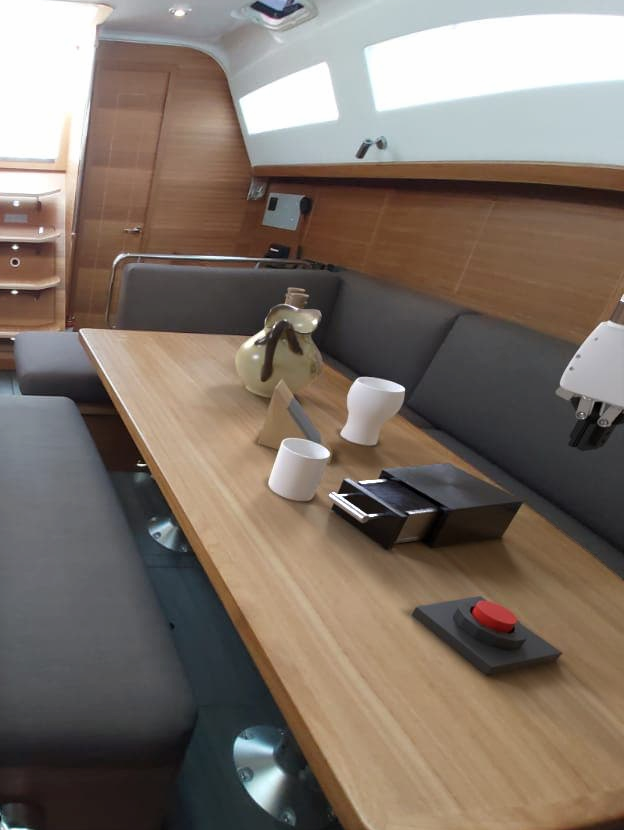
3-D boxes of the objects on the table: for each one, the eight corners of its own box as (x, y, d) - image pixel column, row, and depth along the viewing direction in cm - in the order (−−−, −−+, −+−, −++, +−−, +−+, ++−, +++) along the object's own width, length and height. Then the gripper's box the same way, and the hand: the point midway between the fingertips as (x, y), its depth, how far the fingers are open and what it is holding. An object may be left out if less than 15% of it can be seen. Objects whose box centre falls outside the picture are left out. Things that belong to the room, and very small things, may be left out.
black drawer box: (429, 550, 86) (452, 509, 83) (365, 507, 98) (382, 469, 94) (499, 541, 90) (524, 500, 86) (429, 499, 101) (448, 462, 97)
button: (486, 608, 70) (492, 598, 69) (518, 631, 66) (525, 621, 66) (464, 611, 69) (469, 602, 68) (495, 635, 66) (502, 625, 65)
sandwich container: (331, 467, 111) (355, 407, 105) (256, 445, 119) (274, 388, 113) (334, 453, 117) (357, 395, 111) (263, 433, 126) (281, 378, 119)
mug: (265, 468, 110) (279, 427, 105) (308, 478, 107) (324, 436, 102) (268, 496, 100) (283, 452, 95) (315, 508, 97) (333, 462, 92)
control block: (473, 606, 75) (486, 586, 73) (553, 664, 66) (570, 643, 64) (409, 617, 73) (421, 597, 71) (484, 678, 64) (499, 657, 62)
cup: (359, 452, 118) (383, 394, 112) (322, 431, 128) (342, 377, 121) (394, 448, 121) (420, 391, 114) (355, 428, 130) (377, 375, 123)
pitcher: (286, 380, 161) (310, 303, 150) (329, 411, 139) (362, 324, 129) (216, 377, 161) (236, 300, 150) (249, 407, 140) (275, 320, 129)
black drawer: (362, 553, 84) (377, 520, 81) (308, 511, 94) (320, 481, 91) (453, 540, 88) (471, 508, 85) (392, 502, 98) (407, 472, 95)
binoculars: (259, 352, 187) (279, 285, 177) (289, 356, 184) (311, 288, 173) (262, 368, 170) (283, 295, 160) (295, 373, 167) (319, 299, 156)
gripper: (774, 333, 56) (677, 472, 64) (602, 305, 70) (539, 422, 77) (728, 336, 55) (635, 477, 63) (561, 307, 68) (501, 426, 76)
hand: (582, 447), depth 70 cm, fingers closed
